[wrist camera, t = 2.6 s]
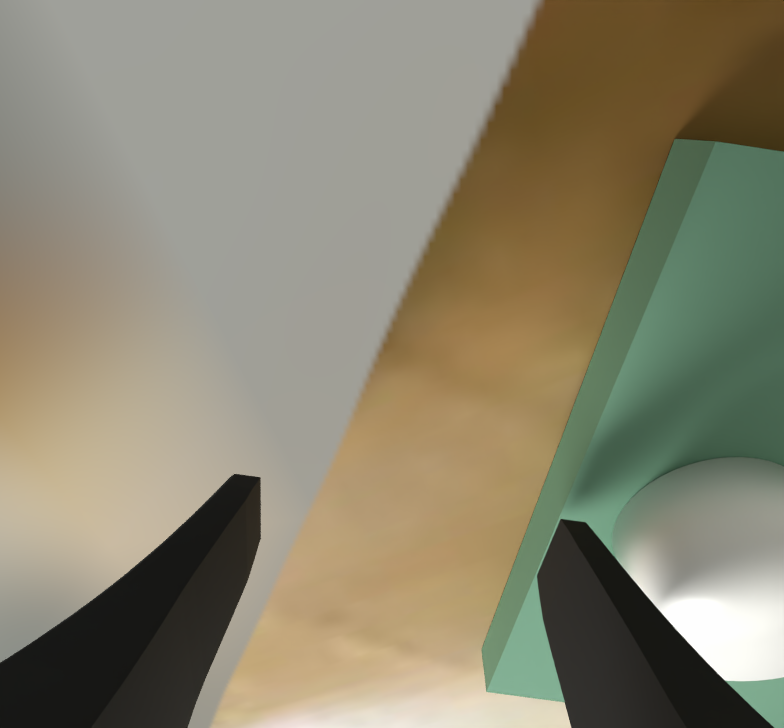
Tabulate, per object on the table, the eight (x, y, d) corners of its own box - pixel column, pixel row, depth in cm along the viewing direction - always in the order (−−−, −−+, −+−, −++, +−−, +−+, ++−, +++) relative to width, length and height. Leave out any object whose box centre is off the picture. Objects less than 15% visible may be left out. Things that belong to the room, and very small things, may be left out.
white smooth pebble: (749, 600, 14) (812, 693, 12) (585, 576, 14) (617, 665, 11) (856, 474, 11) (959, 560, 9) (657, 442, 11) (716, 522, 9)
